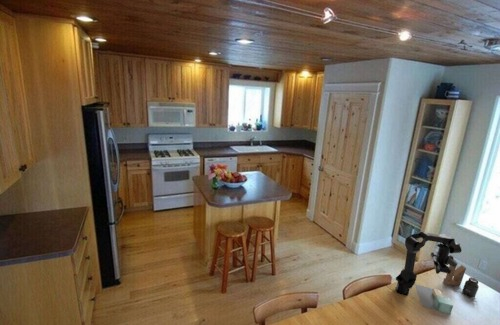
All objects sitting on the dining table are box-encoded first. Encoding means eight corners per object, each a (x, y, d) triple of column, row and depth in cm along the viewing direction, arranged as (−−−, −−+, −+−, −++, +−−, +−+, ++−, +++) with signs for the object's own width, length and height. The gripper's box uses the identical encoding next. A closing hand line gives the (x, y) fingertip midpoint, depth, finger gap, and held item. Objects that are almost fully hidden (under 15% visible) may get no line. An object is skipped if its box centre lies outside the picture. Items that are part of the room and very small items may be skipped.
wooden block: (460, 285, 183) (468, 263, 178) (446, 285, 182) (453, 263, 177) (456, 281, 187) (463, 260, 182) (442, 282, 185) (449, 260, 180)
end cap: (436, 310, 159) (439, 301, 157) (433, 303, 165) (436, 295, 163) (450, 313, 157) (453, 305, 155) (446, 306, 162) (449, 298, 161)
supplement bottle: (463, 296, 173) (469, 281, 170) (460, 289, 179) (465, 274, 176) (476, 300, 170) (482, 284, 167) (472, 292, 177) (478, 277, 173)
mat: (422, 307, 161) (422, 306, 161) (414, 284, 181) (414, 283, 180) (451, 314, 157) (451, 314, 157) (439, 291, 176) (439, 290, 176)
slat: (439, 309, 160) (441, 304, 159) (432, 293, 173) (433, 288, 172) (446, 310, 159) (447, 306, 158) (438, 294, 172) (439, 290, 171)
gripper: (464, 264, 159) (456, 286, 163) (452, 248, 176) (446, 268, 180) (442, 260, 162) (436, 281, 167) (433, 244, 180) (427, 263, 184)
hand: (437, 273), depth 174 cm, fingers closed
